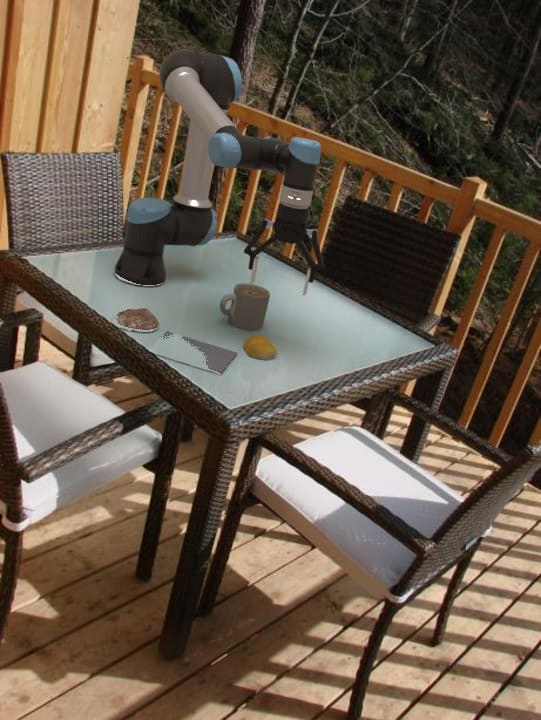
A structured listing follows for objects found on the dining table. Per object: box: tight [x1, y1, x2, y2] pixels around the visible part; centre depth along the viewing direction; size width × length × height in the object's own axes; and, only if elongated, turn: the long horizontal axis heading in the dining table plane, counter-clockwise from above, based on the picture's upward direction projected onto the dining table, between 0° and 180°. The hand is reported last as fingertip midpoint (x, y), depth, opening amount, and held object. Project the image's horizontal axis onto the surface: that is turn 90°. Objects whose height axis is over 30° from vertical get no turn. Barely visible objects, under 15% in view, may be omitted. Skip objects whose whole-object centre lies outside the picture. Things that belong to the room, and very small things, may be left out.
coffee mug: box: [219, 282, 271, 332], centre depth 198 cm, size 13×10×10 cm
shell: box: [116, 307, 160, 330], centre depth 184 cm, size 12×13×4 cm
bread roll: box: [243, 334, 278, 361], centre depth 184 cm, size 8×9×4 cm
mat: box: [160, 330, 238, 373], centre depth 175 cm, size 19×13×1 cm
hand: (278, 288), depth 181 cm, fingers open, 13 cm apart
